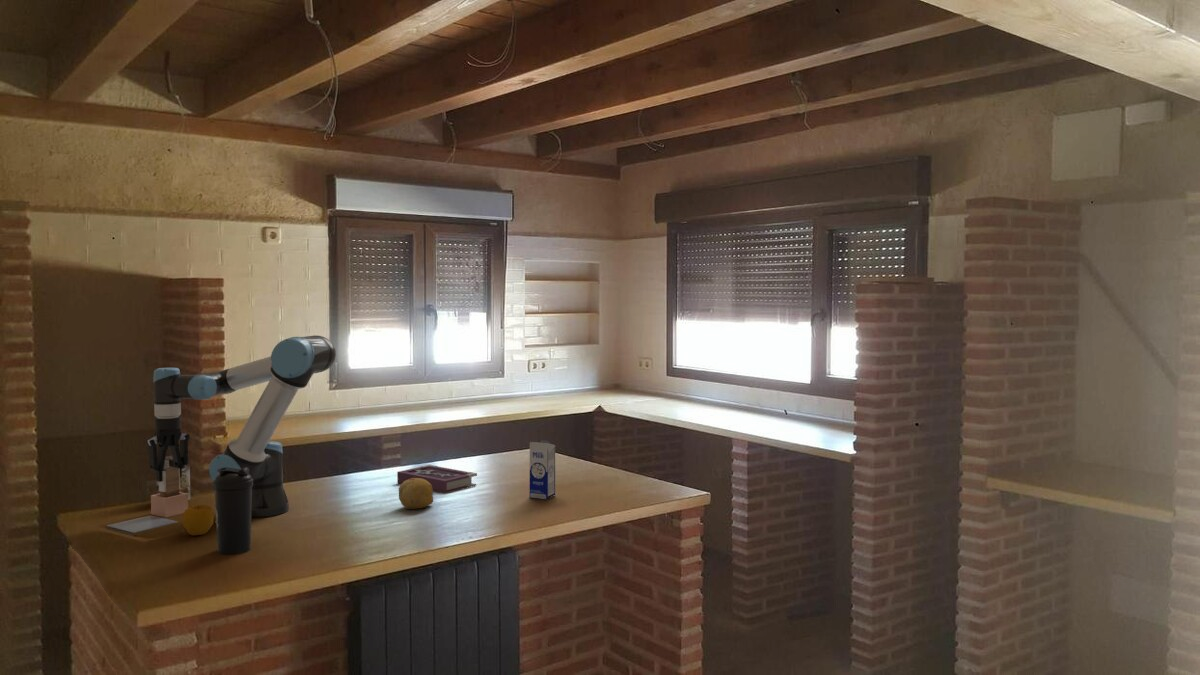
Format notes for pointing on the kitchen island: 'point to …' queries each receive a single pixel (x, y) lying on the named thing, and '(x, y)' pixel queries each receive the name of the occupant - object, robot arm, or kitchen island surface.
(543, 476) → the milk carton
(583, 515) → the kitchen island surface
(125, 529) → the tile
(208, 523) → the apple
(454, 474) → the book
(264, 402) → the robot arm
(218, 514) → the water bottle
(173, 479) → the peg
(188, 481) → the coffee box
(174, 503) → the box with hole
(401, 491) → the potato
